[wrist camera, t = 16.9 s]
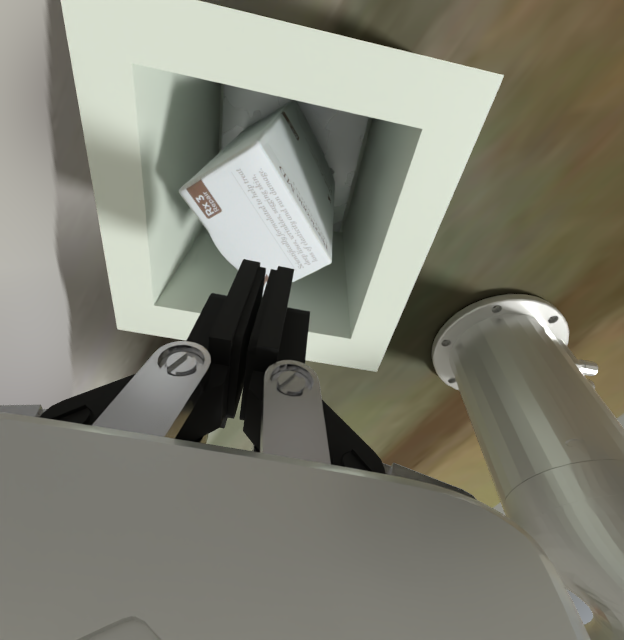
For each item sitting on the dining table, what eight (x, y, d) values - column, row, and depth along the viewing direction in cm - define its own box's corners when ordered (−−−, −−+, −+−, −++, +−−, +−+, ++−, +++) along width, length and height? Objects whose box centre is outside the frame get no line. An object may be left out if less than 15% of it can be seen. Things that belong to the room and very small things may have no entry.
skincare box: (337, 181, 26) (343, 267, 16) (284, 211, 27) (260, 305, 18) (292, 91, 23) (266, 133, 13) (234, 131, 24) (172, 193, 15)
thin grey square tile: (372, 93, 23) (374, 95, 23) (339, 226, 29) (339, 232, 28) (228, 59, 23) (224, 60, 22) (222, 203, 28) (219, 208, 27)
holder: (419, 56, 23) (504, 75, 12) (359, 253, 32) (376, 371, 20) (193, 0, 22) (54, -35, 11) (194, 221, 30) (117, 329, 19)
